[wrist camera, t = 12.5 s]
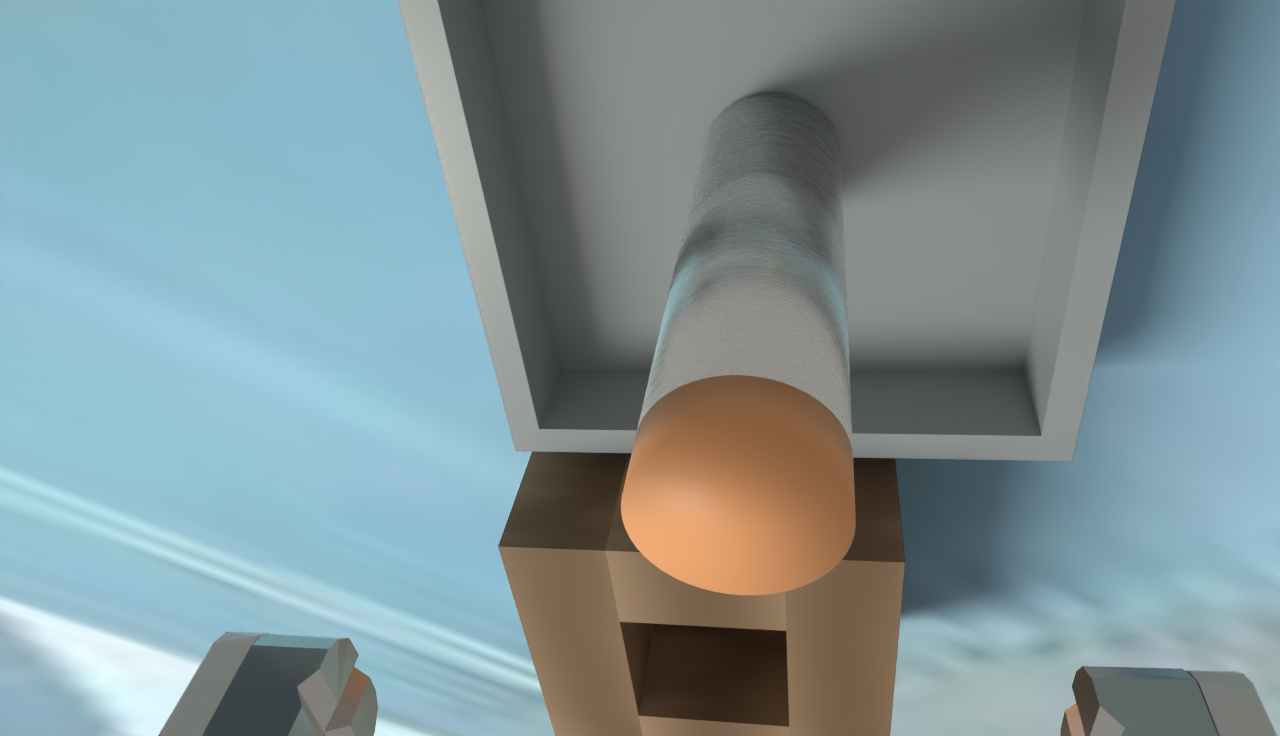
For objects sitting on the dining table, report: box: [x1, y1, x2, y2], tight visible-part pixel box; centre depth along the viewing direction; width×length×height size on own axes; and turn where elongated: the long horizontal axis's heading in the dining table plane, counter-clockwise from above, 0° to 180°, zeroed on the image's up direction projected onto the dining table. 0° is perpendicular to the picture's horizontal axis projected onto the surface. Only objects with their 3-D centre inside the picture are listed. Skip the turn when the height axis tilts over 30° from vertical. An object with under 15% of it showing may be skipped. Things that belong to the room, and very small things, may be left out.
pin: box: [621, 92, 856, 595], centre depth 17 cm, size 3×3×11 cm
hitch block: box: [498, 451, 905, 736], centre depth 28 cm, size 10×10×6 cm
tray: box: [398, 0, 1176, 462], centre depth 21 cm, size 14×14×4 cm
